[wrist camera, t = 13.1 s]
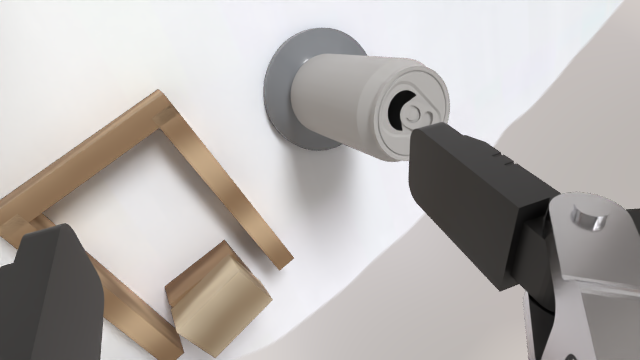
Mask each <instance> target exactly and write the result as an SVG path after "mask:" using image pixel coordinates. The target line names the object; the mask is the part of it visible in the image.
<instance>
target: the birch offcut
mask: <svg viewBox="0 0 640 360" xmlns="http://www.w3.org/2000/svg"><path fill="white" fill-rule="evenodd" d="M272 300H273V299H272V298H271V296H270V295H269V293H268V292H267V290H266V289H265V287H264V286H263V284H262V283H261V281H260V280H258V279H257V278H256V277H255V276H254V275H253V274H252V273H250V272H249V271H248V270H247V269H246V268H245V267H244V266H242V265H241V264H240V263H239V262H238V261H237V260H235V259H234V258H233V257H232V256H231V255H230V254H229V253H228V254H227V255H226V256H225V257H224V258H223V259H222V260H221V261H220V262H219V263H218V264H217V265H216V266H215V267H214V268H213V269H212V270H211V271H210V272H209V273H208V274H207V275H206V276H205V277H204V278H203V279H202V280H201V281H200V282H199V283H198V284H197V285H196V286H195V287H194V288H192V289H191V290H190V291H189V292H188V293H187V294H186V295H185V296H184V297H183V298H182V299H181V300H180V301H179V302H178V303H177V304H176V305H175V306H174V307H173V308H172V309H171V312H172V316H173V320H174V324H175V327H176V331H177V333H178V334H180V335H181V336H183V337H184V338H186V339H187V340H189V341H190V342H192V343H193V344H195V345H196V346H198V347H199V348H201V349H202V350H204V351H205V352H207V353H208V354H210V355H211V356H213V357H214V358H216V357H217V356H218V355H219V354H220V353H221V352H222V351H223V350H224V349H225V348H226V347H227V346H228V345H229V344H230V343H231V342H232V341H233V340H234V339H235V338H236V337H237V336H238V335H239V334H240V333H241V332H242V331H243V330H244V328H245V327H246V326H247V325H248V324H249V323H250V322H251V321H252V320H253V319H254V318H255V317H256V316H257V315H258V314H259V313H260V312H261V311H262V310H263V309H264V308H265V307H266V306H267V305H268V304H269V303H270V302H271V301H272Z"/></svg>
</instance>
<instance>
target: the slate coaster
mask: <svg viewBox="0 0 640 360" xmlns="http://www.w3.org/2000/svg"><path fill="white" fill-rule="evenodd" d="M320 54H345V55H361V56H367V54H366V53H365V51H364V50H363V48H362V47H361V46H360V44H359V43H358V42H357V41H356V40H354V39H353V38H352V37H351V36H349V35H347V34H346V33H344V32H341V31H339V30H336V29H331V28H314V29H308V30H304V31H302V32H299V33H297V34H295V35H294V36H292V37H290V38H289V39H288V40H287V41H285V42H284V43H283V44H282V45H281V46H280V47H279V49H278V50H277V51H276V53H275V54H274V56H273V57H272V59H271V61H270V63H269V66H268V69H267V71H266V76H265V80H264V101H265V107H266V110H267V113H268V116H269V118H270V120H271V122H272V124H273V126H274V127H275V128H276V130H277V131H278V132H279V133H280V134H281V135H282V136H283V137H284V138H285V139H287V140H288V141H290V142H292V143H293V144H295V145H297V146H299V147H302V148H305V149H309V150H328V149H332V148H335V147H337V146H340V145H341V144H342V143H340V142H337V141H335V140H332V139H330V138H328V137H325V136H323V135H321V134H318V133H316V132H313V131H311V130H309V129H308V128H306V127H305V126H303V125H302V124H301V123H300V121H299V120H298V119H297V117H296V115H295V113H294V111H293V108H292V104H291V87H292V83H293V80H294V77H295V75H296V73H297V72H298V70H299V69H300V67H301V66H302V65H303V64H304V63H305V62H307V61H308V60H309V59H311V58H312V57H314V56H317V55H320Z"/></svg>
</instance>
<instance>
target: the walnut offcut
mask: <svg viewBox="0 0 640 360" xmlns="http://www.w3.org/2000/svg"><path fill="white" fill-rule="evenodd" d="M228 253H229V254H230V255H231V256H232V257H233V258H234V259H235V260H237V261H238V262H239V263H240V264H241V265H242V266H244V267H245V268H246V269H247V270H248V271H249V272H250V273H251V271H250V270H249V268H248V267H247V266H246V265H245V264H244V263H243V261H242V260H241V259H240V258H239V257H238V255H237V254H236V253H235V252H234V251H233V249H232V248H231V247H230V246H229V245H228V244H227V242H226V241H225V240H224V241H222V242H221V243H220V244H218V245H217V246H216V247H215V248H213V249H212V250H211V251H210V252H208V253H207V254H206V255H204V256H203V257H202V258H201V259H199V260H198V261H197V262H195V263H194V264H193V265H192V266H190V267H189V268H188V269H186V270H185V271H184V272H183V273H181V274H180V275H179V276H178V277H176V278H175V279H174V280H172V281H171V282H170V283H169V284H167V285H166V286H165V290H166V293H167V297H168V301H169V304H170V305H171V306H172V307H174V306H175V305H176V304H177V303H178V302H179V301H180V300H181V299H182V298H183V297H184V296H185V295H186V294H187V293H188V292H189V291H190V290H191V289H192V288H194V287H195V286H196V285H197V284H198V283H199V282H200V281H201V280H202V279H203V278H204V277H205V276H206V275H207V274H208V273H209V272H210V271H211V270H212V269H213V268H214V267H215V266H216V265H217V264H218V263H219V262H220V261H221V260H222V259H223V258H224V257H225V256H226V255H227V254H228Z"/></svg>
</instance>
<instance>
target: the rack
mask: <svg viewBox="0 0 640 360" xmlns="http://www.w3.org/2000/svg"><path fill="white" fill-rule="evenodd" d="M158 128H160V129H161V130H162V131H163V132H164V134H165V135H166V136H167V137H168V138H169V140H170V141H171V142H172V143H173V144H174V146H175V147H176V148H177V149H178V150H179V151H180V153H181V154H182V155H183V156H184V157H185V159H186V160H187V161H188V162H189V163H190V165H191V166H192V167H193V168H194V169H195V171H196V172H197V173H198V174H199V175H200V177H201V178H202V179H203V180H204V181H205V182H206V184H207V185H208V186H209V187H210V188H211V190H212V191H213V192H214V193H215V194H216V196H217V197H218V198H219V199H220V200H221V202H222V203H223V204H224V205H225V206H226V208H227V209H228V210H229V211H230V212H231V213H232V215H233V216H234V217H235V218H236V219H237V221H238V222H239V223H240V224H241V225H242V227H243V228H244V229H245V230H246V231H247V233H248V234H249V235H250V236H251V237H252V238H253V240H254V241H255V242H256V243H257V244H258V246H259V247H260V248H261V249H262V250H263V252H264V253H265V254H266V255H267V256H268V258H269V259H270V260H271V261H272V262H273V264H274V265H275V266H276V267H277V268H278V269H279V271H280V270H281V269H282V268H283V267H284V266H286V265H287V264H288V263H289V262H290V261H291V260H293V259H294V257H293V256H292V255H291V253H290V252H289V251H288V250H287V248H286V247H285V246H284V245H283V243H282V242H281V241H280V240H279V238H278V237H277V236H276V235H275V233H274V232H273V231H272V230H271V228H270V227H269V226H268V225H267V223H266V222H265V221H264V219H263V218H262V217H261V216H260V214H259V213H258V212H257V211H256V209H255V208H254V207H253V206H252V204H251V203H250V202H249V201H248V199H247V198H246V197H245V196H244V194H243V193H242V192H241V190H240V189H239V188H238V187H237V185H236V184H235V183H234V182H233V180H232V179H231V178H230V177H229V175H228V174H227V173H226V172H225V170H224V169H223V168H222V167H221V165H220V164H219V163H218V162H217V160H216V159H215V158H214V156H213V155H212V154H211V153H210V151H209V150H208V149H207V148H206V146H205V145H204V144H203V143H202V141H201V140H200V139H199V138H198V136H197V135H196V134H195V133H194V131H193V130H192V129H191V127H190V126H189V125H188V124H187V122H186V121H185V120H184V119H183V117H182V116H181V115H180V114H179V112H178V111H177V110H176V109H175V107H174V106H173V105H172V104H171V102H170V101H169V100H168V98H167V97H166V96H165V95H164V94H163V93H162V92H161V91H160V90H156V91H155V92H153V93H152V94H150V95H149V96H148V97H146V98H145V99H143V100H142V101H140V102H139V103H138V104H136V105H135V106H133V107H132V108H131V109H129V110H128V111H126V112H125V113H123V114H122V115H121V116H119V117H118V118H116V119H115V120H113V121H112V122H111V123H109V124H108V125H106V126H105V127H103V128H102V129H101V130H99V131H98V132H96V133H95V134H93V135H92V136H91V137H89V138H88V139H86V140H85V141H84V142H82V143H81V144H79V145H78V146H76V147H75V148H74V149H72V150H71V151H69V152H68V153H66V154H65V155H64V156H62V157H61V158H59V159H58V160H56V161H55V162H54V163H52V164H51V165H49V166H48V167H47V168H45V169H44V170H42V171H41V172H39V173H38V174H37V175H35V176H34V177H32V178H31V179H29V180H28V181H27V182H25V183H24V184H22V185H21V186H19V187H18V188H17V189H15V190H14V191H12V192H11V193H9V194H8V195H7V196H5V197H4V198H2V199H1V200H0V236H1V237H2V238H4V239H5V240H6V241H7V242H9V243H10V244H11V245H13V246H14V247H15V248H16V249H18V248H19V245H20V242H21V239H22V237H23V236H24V235H25V234H27V233H31V232H35V231H38V230H42V229H46V228H49V227H53V226H56V225H55V224H54V223H53V222H52V221H50V220H49V219H48V218H47V217H46V216H45V215H43V214H42V212H44V211H45V210H47V209H48V208H49V207H51V206H52V205H53V204H55V203H56V202H58V201H59V200H60V199H62V198H63V197H65V196H66V195H67V194H69V193H70V192H71V191H73V190H74V189H76V188H77V187H78V186H80V185H81V184H82V183H84V182H85V181H87V180H88V179H89V178H91V177H92V176H94V175H95V174H96V173H98V172H99V171H100V170H102V169H103V168H105V167H106V166H107V165H109V164H110V163H111V162H113V161H114V160H116V159H117V158H118V157H120V156H121V155H123V154H124V153H125V152H127V151H128V150H129V149H131V148H132V147H134V146H135V145H136V144H138V143H139V142H140V141H142V140H143V139H145V138H146V137H147V136H149V135H150V134H152V133H153V132H154V131H156V130H157V129H158ZM85 252H86V251H85ZM86 254H87V255H88V257H89V259H90V261H91V262H92V264H93V266H94V268H95V269H96V271H97V273H98V275H99V277H100V280H101V283H102V286H103V291H104V315H103V317H104V318H106V319H107V320H108V321H109V322H111V323H112V324H113V325H114V326H116V327H117V328H118V329H120V330H121V331H122V332H123V333H125V334H126V335H127V336H128V337H130V338H131V339H132V340H134V341H135V342H136V343H137V344H139V345H140V346H141V347H143V348H144V349H145V350H146V351H148V352H149V353H150V354H151V355H153V356H154V357H155V358H157V359H158V360H176V359H177V358H178V357H180V356H181V355H182V354H183V353H184V351H183V347H182V344H181V340H180V337H179V334H178V333H177V331H176V329H175V328H174V327H173V326H172V325H171V324H169V323H168V322H167V321H166V320H165V319H164V318H163V317H161V316H160V315H159V314H158V313H157V312H156V311H154V310H153V309H152V308H151V307H150V306H149V305H148V304H146V303H145V302H144V301H143V300H142V299H141V298H139V297H138V296H137V295H136V294H135V293H134V292H132V291H131V290H130V289H129V288H128V287H127V286H126V285H124V284H123V283H122V282H121V281H120V280H119V279H117V278H116V277H115V276H114V275H113V274H112V273H111V272H109V271H108V270H107V269H106V268H105V267H104V266H102V265H101V264H100V263H99V262H98V261H97V260H95V259H94V258H93V257H92V256H91V255H90V254H89V253H87V252H86Z"/></svg>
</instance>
